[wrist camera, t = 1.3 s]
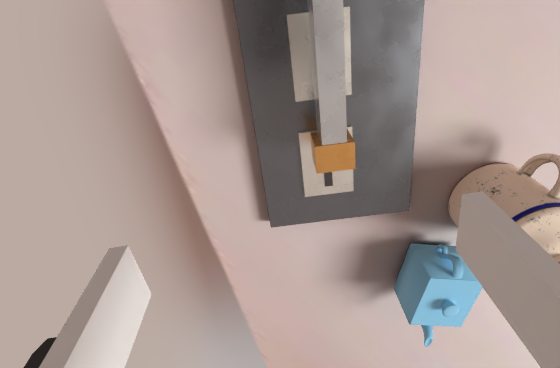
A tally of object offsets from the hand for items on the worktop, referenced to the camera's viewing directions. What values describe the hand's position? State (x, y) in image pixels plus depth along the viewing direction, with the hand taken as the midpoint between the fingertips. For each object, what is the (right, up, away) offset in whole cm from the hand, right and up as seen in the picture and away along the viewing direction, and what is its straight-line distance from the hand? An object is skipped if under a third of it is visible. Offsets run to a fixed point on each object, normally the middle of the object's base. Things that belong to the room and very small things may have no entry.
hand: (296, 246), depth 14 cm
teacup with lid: (+23, +2, +24) cm, 33 cm away
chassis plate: (+4, +11, +18) cm, 22 cm away
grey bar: (+3, +14, +15) cm, 21 cm away
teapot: (+17, -8, +30) cm, 35 cm away
